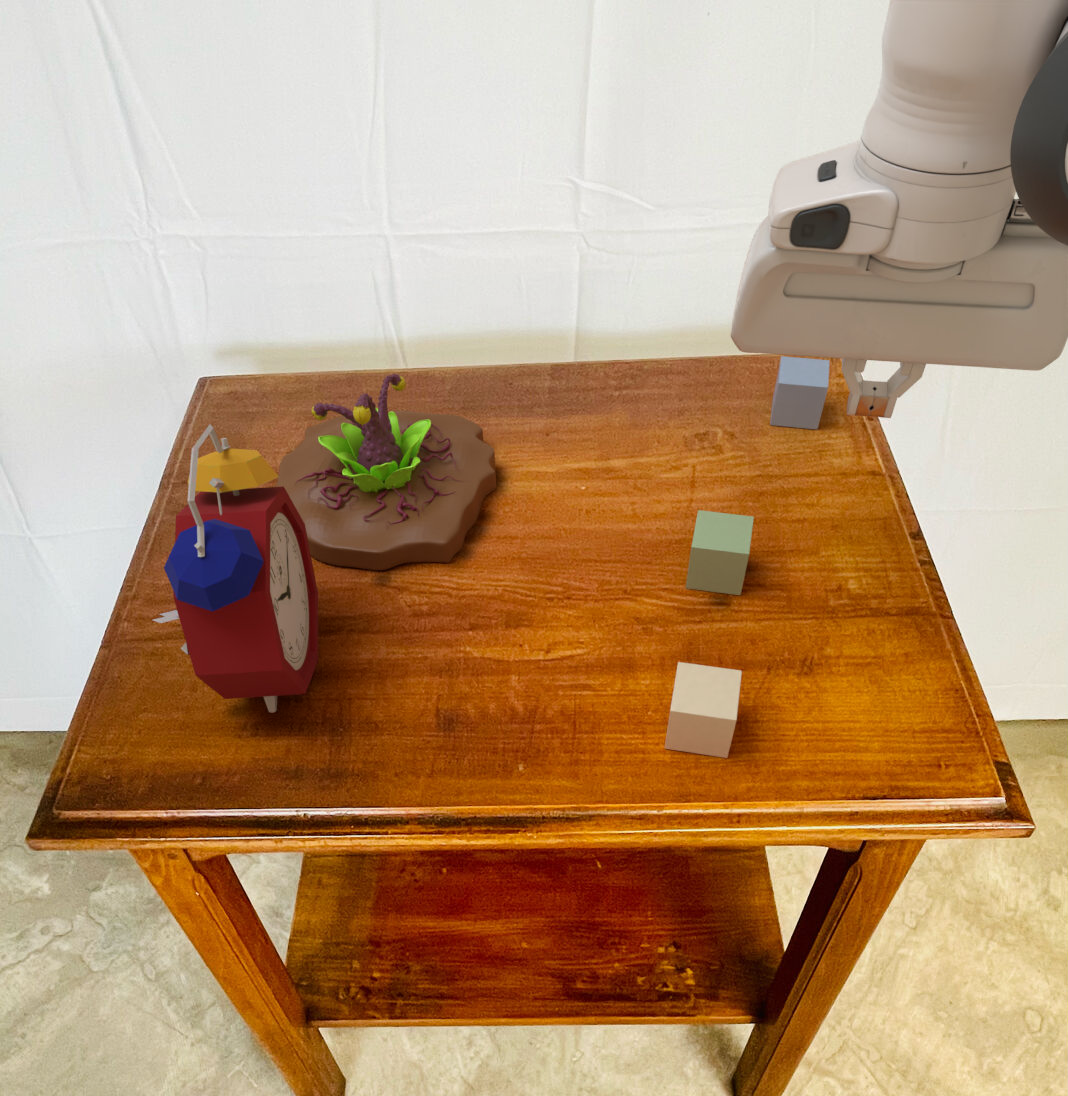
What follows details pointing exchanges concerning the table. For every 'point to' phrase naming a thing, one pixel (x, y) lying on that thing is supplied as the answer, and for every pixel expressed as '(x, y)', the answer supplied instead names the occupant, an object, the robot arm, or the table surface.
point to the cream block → (703, 709)
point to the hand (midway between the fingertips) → (868, 411)
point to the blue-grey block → (800, 392)
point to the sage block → (719, 552)
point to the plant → (387, 483)
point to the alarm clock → (243, 579)
